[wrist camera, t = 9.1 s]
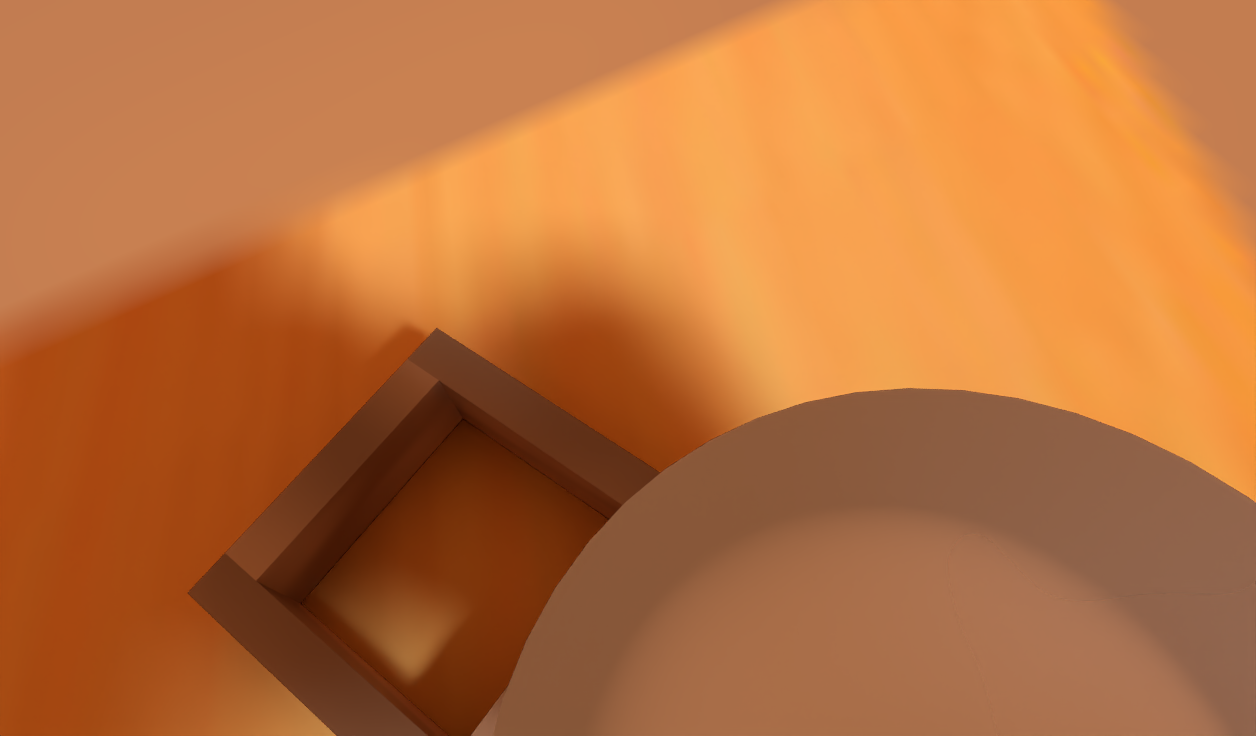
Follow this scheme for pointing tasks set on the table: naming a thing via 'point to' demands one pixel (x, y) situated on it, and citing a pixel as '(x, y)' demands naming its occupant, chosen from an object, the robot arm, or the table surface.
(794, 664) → the peg
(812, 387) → the table surface
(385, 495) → the open brown square box
